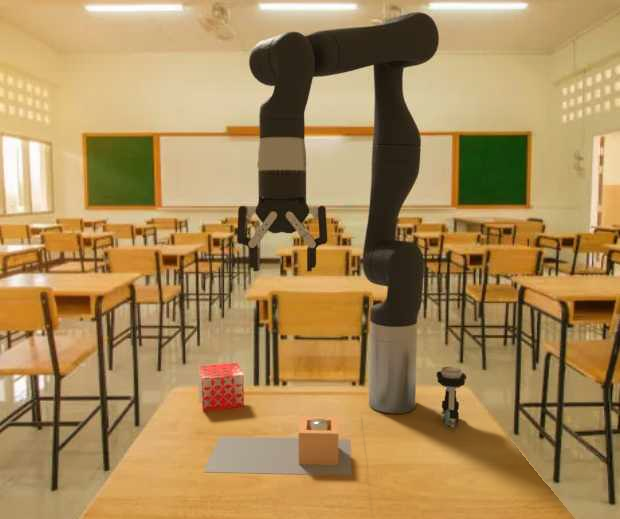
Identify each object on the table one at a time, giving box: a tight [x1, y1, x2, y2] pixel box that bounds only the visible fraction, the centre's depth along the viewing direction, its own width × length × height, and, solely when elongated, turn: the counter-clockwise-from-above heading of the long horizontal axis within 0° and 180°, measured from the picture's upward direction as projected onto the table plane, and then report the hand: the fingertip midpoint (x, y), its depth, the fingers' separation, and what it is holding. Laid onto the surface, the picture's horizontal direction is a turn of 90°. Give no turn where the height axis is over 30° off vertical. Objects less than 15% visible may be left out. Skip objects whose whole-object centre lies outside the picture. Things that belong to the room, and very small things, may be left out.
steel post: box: [311, 419, 327, 430], centre depth 88 cm, size 3×3×7 cm
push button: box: [436, 366, 467, 428], centre depth 103 cm, size 7×5×10 cm
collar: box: [298, 416, 339, 465], centre depth 88 cm, size 6×6×5 cm
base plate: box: [203, 436, 353, 477], centre depth 88 cm, size 12×22×2 cm, turn 88°
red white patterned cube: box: [198, 362, 245, 411], centre depth 110 cm, size 8×8×8 cm
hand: (282, 270), depth 90 cm, fingers open, 8 cm apart
